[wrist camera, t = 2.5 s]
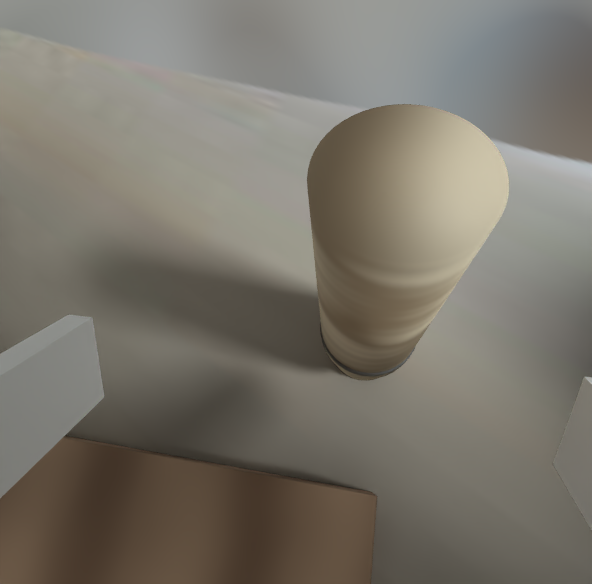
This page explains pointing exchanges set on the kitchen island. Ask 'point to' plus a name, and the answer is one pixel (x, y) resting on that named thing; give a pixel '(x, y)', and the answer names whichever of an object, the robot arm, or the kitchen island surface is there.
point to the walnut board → (178, 523)
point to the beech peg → (396, 227)
